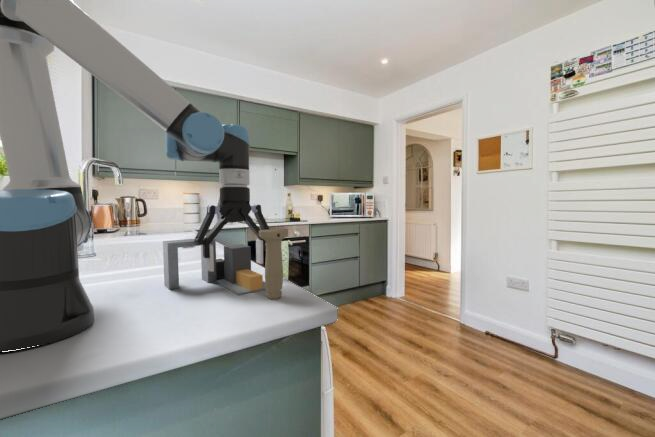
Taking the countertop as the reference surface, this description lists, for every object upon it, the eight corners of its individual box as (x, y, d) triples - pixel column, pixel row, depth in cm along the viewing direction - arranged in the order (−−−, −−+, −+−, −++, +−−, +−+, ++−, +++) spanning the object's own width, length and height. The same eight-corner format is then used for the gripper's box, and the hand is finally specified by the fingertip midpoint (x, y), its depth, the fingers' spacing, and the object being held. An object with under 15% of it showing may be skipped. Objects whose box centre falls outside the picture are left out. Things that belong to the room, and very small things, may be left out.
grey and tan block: (266, 287, 73) (265, 250, 72) (246, 291, 70) (246, 253, 69) (240, 275, 84) (239, 243, 83) (222, 278, 81) (222, 245, 80)
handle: (256, 297, 67) (255, 230, 66) (281, 291, 71) (281, 228, 70) (265, 303, 63) (264, 232, 62) (292, 297, 67) (291, 230, 66)
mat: (238, 295, 69) (238, 293, 68) (216, 281, 79) (216, 280, 79) (273, 287, 74) (273, 285, 74) (248, 276, 85) (248, 274, 85)
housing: (169, 289, 72) (167, 243, 72) (164, 285, 76) (162, 241, 75) (227, 279, 82) (226, 238, 81) (220, 275, 85) (219, 236, 85)
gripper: (188, 184, 68) (191, 277, 69) (283, 187, 84) (284, 262, 85) (179, 185, 73) (182, 271, 75) (270, 187, 89) (270, 258, 91)
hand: (236, 266), depth 80 cm, fingers open, 13 cm apart
